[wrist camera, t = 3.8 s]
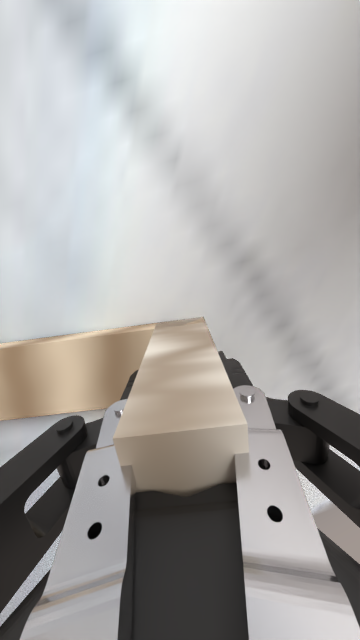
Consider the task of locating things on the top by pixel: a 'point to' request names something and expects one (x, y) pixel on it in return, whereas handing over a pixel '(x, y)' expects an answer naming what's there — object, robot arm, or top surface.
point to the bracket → (138, 398)
